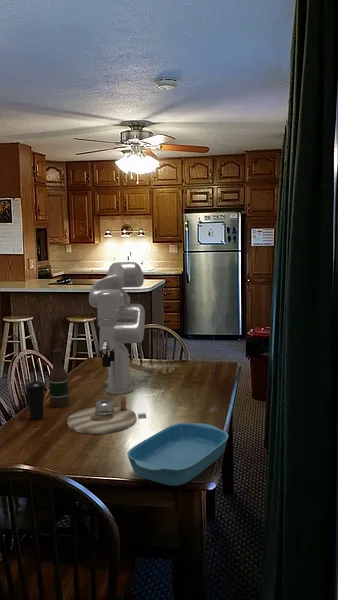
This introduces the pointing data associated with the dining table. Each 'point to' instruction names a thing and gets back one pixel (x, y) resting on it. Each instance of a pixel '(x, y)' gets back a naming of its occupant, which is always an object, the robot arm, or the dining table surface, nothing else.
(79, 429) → the turntable
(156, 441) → the casserole dish
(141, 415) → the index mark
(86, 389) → the dining table surface
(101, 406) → the cover
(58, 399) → the beer bottle
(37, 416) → the drinking cup
